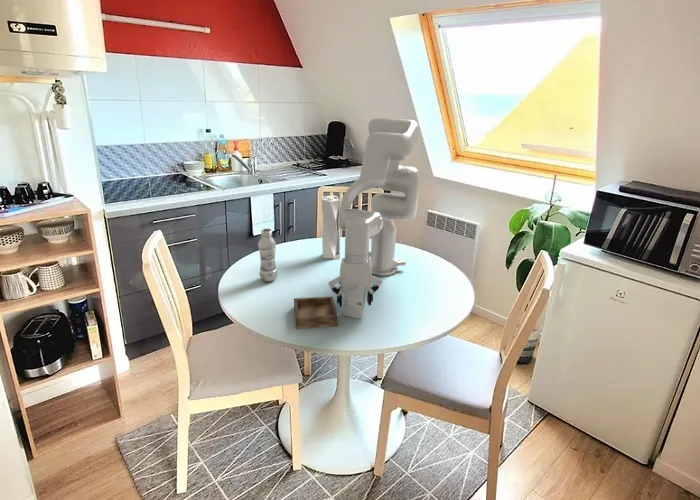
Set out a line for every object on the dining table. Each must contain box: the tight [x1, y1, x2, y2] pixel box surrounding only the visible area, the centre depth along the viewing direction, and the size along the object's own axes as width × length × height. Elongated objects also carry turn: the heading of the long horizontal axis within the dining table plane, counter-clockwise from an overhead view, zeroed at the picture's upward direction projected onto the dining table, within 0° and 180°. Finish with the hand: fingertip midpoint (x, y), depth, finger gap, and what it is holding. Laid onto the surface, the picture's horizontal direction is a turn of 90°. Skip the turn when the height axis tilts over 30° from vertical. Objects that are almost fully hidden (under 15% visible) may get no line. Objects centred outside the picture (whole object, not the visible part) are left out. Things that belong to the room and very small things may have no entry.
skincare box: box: [343, 285, 367, 320], centre depth 143 cm, size 6×4×12 cm
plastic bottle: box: [257, 228, 278, 283], centre depth 162 cm, size 6×7×20 cm
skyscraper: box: [320, 195, 341, 260], centre depth 183 cm, size 8×8×28 cm
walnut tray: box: [293, 296, 339, 330], centre depth 142 cm, size 13×13×4 cm
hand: (354, 304), depth 144 cm, fingers open, 9 cm apart
